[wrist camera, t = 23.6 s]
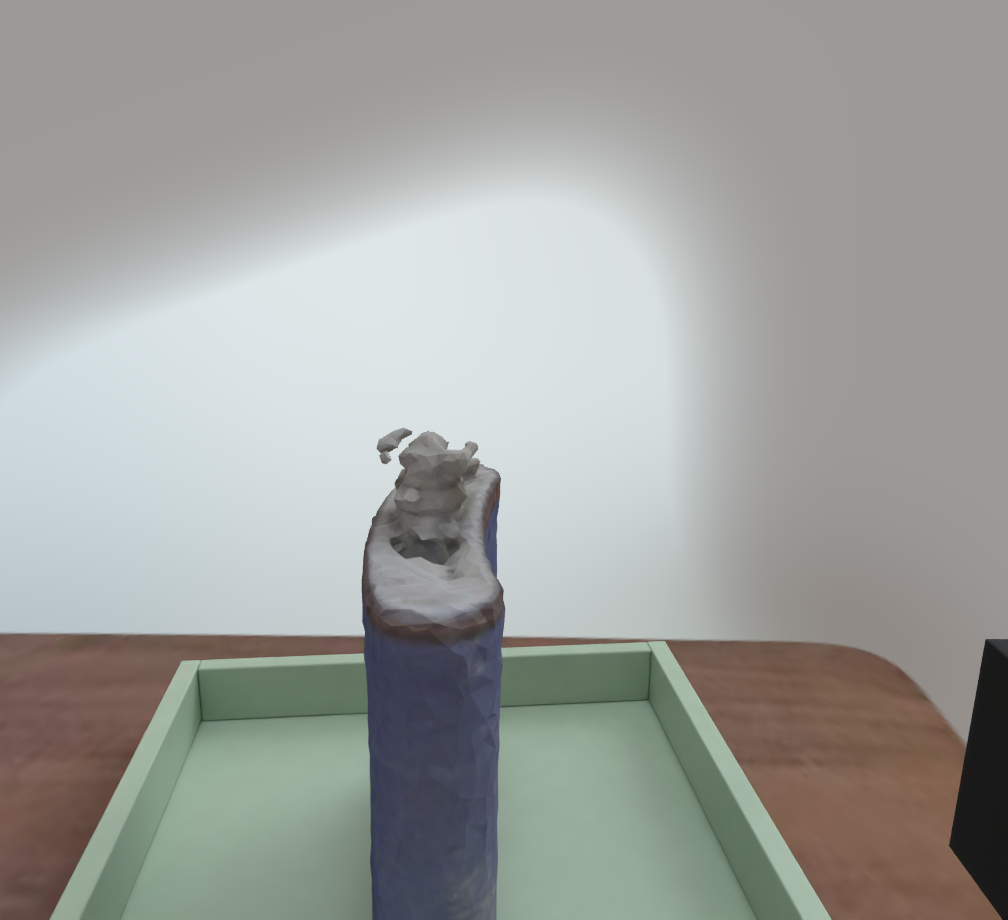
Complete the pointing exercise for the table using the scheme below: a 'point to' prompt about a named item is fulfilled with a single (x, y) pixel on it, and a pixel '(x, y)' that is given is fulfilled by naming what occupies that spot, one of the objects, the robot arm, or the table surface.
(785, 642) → the table surface
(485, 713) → the flask
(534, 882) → the tray
